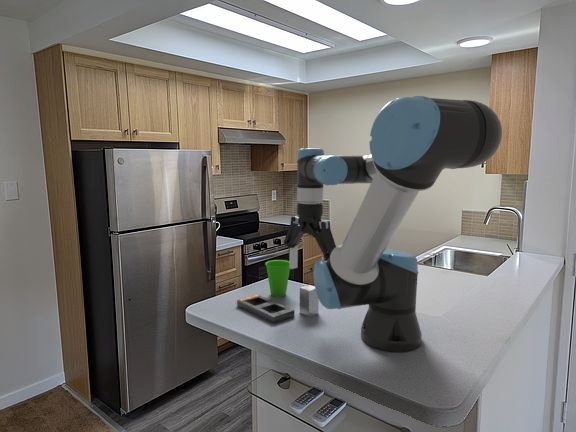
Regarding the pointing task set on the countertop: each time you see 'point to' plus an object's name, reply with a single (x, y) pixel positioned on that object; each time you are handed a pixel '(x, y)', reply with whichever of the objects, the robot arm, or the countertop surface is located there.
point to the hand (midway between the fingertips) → (308, 273)
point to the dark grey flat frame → (265, 308)
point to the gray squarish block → (308, 301)
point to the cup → (278, 276)
